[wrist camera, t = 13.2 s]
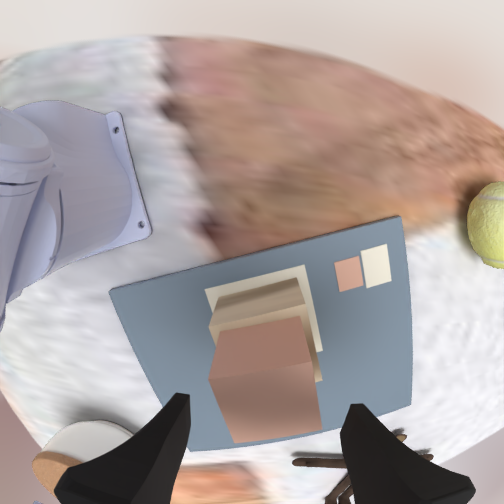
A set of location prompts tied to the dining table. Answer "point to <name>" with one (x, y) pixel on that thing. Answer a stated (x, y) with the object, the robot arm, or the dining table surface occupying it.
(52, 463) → the lidded bowl
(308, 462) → the bear figurine
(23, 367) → the dining table surface
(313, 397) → the terracotta block
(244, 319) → the maple block
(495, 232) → the tennis ball
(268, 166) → the dining table surface
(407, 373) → the board
